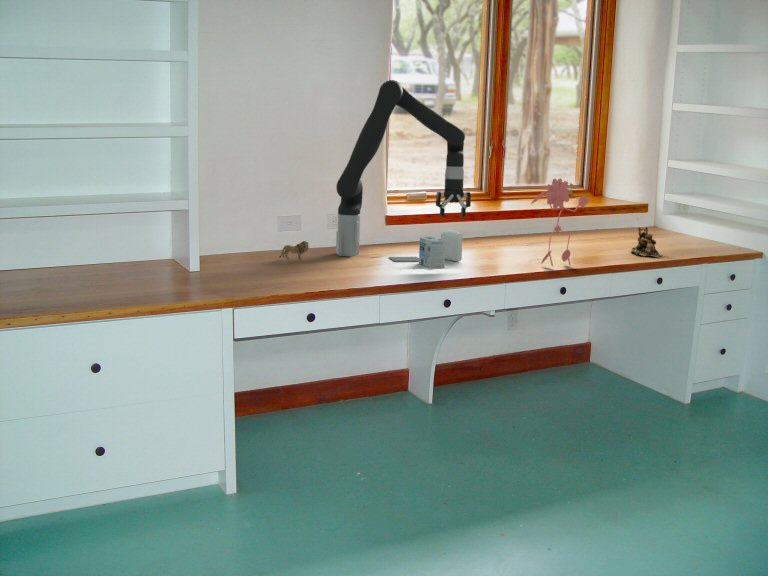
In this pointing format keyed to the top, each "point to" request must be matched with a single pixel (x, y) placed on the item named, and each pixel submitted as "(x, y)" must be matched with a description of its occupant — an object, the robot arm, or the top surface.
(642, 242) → the bear figurine
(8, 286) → the top surface
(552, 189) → the figurine
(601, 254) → the top surface
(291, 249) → the lion figurine
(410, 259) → the slate pad
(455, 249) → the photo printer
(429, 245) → the light bulb box
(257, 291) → the top surface
